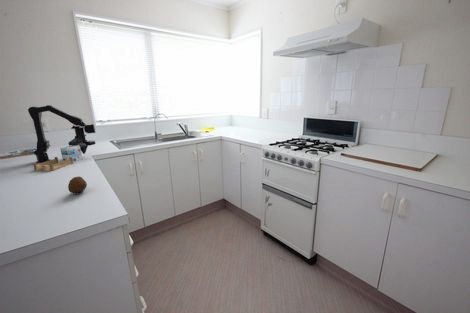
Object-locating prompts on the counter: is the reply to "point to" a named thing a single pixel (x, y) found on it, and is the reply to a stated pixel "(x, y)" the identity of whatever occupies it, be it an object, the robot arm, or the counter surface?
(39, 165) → the wooden frame
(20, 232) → the counter surface
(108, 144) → the counter surface
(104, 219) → the counter surface
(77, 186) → the potato
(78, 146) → the light bulb box
